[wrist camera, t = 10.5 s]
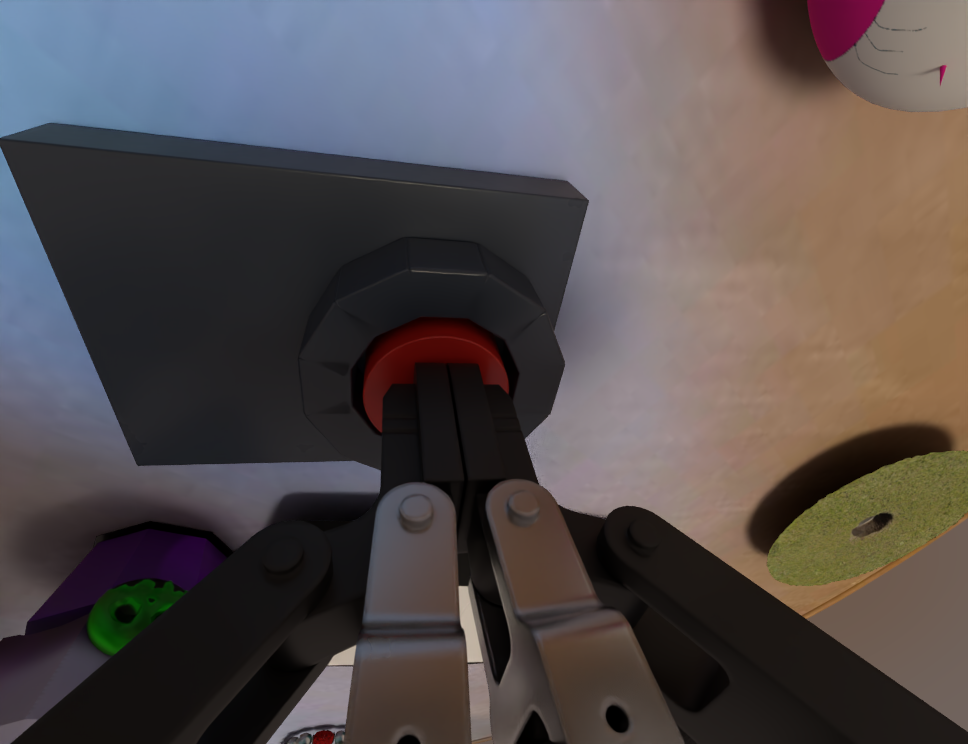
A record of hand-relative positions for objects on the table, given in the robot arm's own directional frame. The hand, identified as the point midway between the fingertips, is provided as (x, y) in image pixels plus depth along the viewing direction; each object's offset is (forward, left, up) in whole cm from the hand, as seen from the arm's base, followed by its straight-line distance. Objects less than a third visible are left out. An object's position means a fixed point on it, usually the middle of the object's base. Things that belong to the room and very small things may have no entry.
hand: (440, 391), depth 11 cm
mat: (+24, -10, -4) cm, 26 cm away
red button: (0, 0, -2) cm, 2 cm away
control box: (-3, 0, -4) cm, 5 cm away
